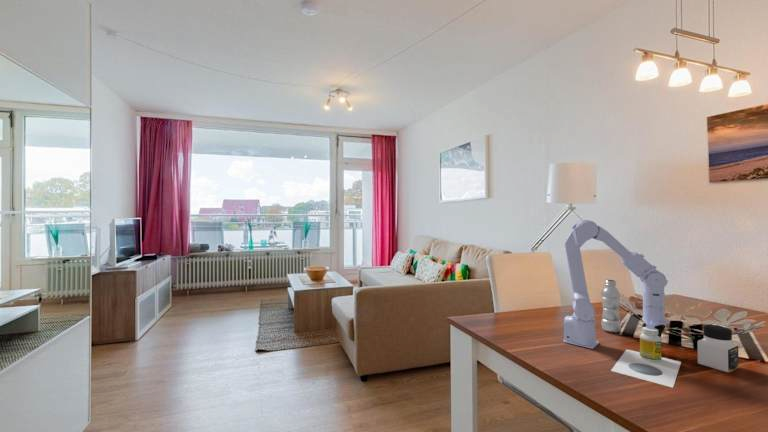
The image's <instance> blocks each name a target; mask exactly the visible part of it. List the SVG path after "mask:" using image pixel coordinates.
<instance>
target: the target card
mask: <svg viewBox="0 0 768 432" xmlns="http://www.w3.org/2000/svg"><path fill="white" fill-rule="evenodd" d="M661 358H662V359H661V361H660V362H651V361H647V360H644V359H642V358H641V356H640V351H635V350H632V349H625V351H623V354H622V355H621V356H620V358H619V359H618V361H616V362H615V364H614V366H613V367H612V368H611V370H610V371H611V372H614V373H617V374H621V375H624V376H629V377H631V378H635V379H639V380H643V381H647V382H650V383H654V384H658V385H660V386H665V387H669V388H674V385H675V383H676V379H677V376H678V374H679V370H680V367H681V364H682V361H680V360H676V359H675V360H674V359H671V358H667V357H662V356H661Z"/></svg>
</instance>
